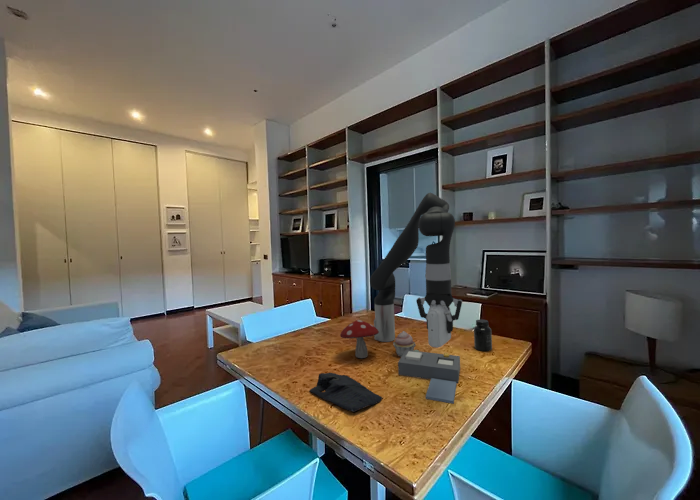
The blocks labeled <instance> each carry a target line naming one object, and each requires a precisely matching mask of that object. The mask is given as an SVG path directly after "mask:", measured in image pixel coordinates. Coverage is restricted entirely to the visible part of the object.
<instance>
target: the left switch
mask: <svg viewBox="0 0 700 500" xmlns="http://www.w3.org/2000/svg"><path fill="white" fill-rule="evenodd" d="M420 352H421V351H420ZM420 352H411V351H409V352H408V353H407V355H406V359H407V360H414V361H421V359H422V353H420Z"/></svg>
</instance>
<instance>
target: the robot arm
mask: <svg viewBox="0 0 700 500" xmlns="http://www.w3.org/2000/svg"><path fill="white" fill-rule="evenodd" d="M449 210H450V204H449V203H448V202H447V201H446V200H445V199H443V198H442V197H440V196H438V195H436V194H434V193H432V192H427V193H426V194H425V196H423V197H422V199H421V201H420V203H419V204H418V206H417V208H416V210H415V211H414V213H413V215H412V216H411V218H410V220H409V221H408V223H407V224H406V226H405V227H404V229H403V230H402V232H401V233H400V234H399V236H398V237H397V239H396V240H395V242H394V243H393V245H392V247H391V248H390V250H389V251H388V253H387V254H386V255H385V257H384V259H383V260H382V262H380V264H379V266H377V268H376V269H375V270H374V271H373V273H372V274H371V276H370V279H369V284H370V287H371V288H372V289H373V290H375V291H379V292H378V293H377V295H376V296H375V297H374V319H373V326H374V327H375V328H376V329H378V331H379V333H378V334H377V335H374V340H376V341H379V342H383V343H384V342H387V343H388V342H392V341H393V342H394V341H395V339H396V330H395V329H396V327H395V326H396V325H395V304H394V303H395V298H396V277H395V274H394V272H395V271H396V270H397V269H398V268H399V267H401V266H402V265H403V264H404V263H406V262H407V261H408V260H409V259H410V258H411V256H412V255H413V254H414V252H415V251H416V250H417V248H418V246H419V241H420V238H419V237H420V235H419V232H420V234H421V235H422V236H424V237H442V239H441V240H440V241H438V242H435V243H431V244H427V245H426V247H425V276H424V278H425V296H424V297H418V298H417V299H416V304H417V305H416V306H417V309H418V312H419V315H420V318H423V319H424V320H426V329H427V331H428V313H426V312H425V307H424V304H425V303H427V305H428V306H429V308H428V310H429V309H430V308H431V307H432V306H433V305H435V304H437V305H438V304H440V305H442V307H443V309H444V312H445V314H446V316H447V318H448V333H451V334H452V332H453V331H454V321H457V320H459V319H460V315H461V314H460V313H461V309H462V304H463V300H462V299H461V298H460V299H459V298H458V299H457V298H454V297H453V295H452V270H451V262H450V248H451V247H450V246H451V240H452V237H453V232H454V230H455V226H456V225H455V224H456V220H455V219H456V218H455V217H454V216H453V214H452V213H450V212H449ZM453 303H454V307H456V309H455V314H453V315H452V312H451V308H450V309H449V307H450V306H451V304H453Z"/></svg>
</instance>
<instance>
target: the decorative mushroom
mask: <svg viewBox="0 0 700 500" xmlns="http://www.w3.org/2000/svg"><path fill="white" fill-rule="evenodd" d="M378 333H379V331H378V329H376V328H375V327H374V324H373V325H372V324H371V323H369V322H366V321H364V320H361V319H357V320H354V321H352V322H351V323H349V324H347V325H346V326H345V327H344V328H343V329H342V330H341V331H340V333H339V336H340V338H341V339H356V344H355V357H356V358H357V359H365V358H367V357H368V355H369V354H368V352H369V351H368V346H367V344H366V342H365V338H369V337H373V336H374V335H377V334H378Z"/></svg>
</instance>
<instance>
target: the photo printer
mask: <svg viewBox="0 0 700 500" xmlns="http://www.w3.org/2000/svg"><path fill="white" fill-rule="evenodd" d="M429 308H430V307H429ZM429 308H428V310H427V314H428V330H427V334H428V335H427V338H428V339H427V340H428V345H429V346H430V347H432V348H435V349H436V348H441V347H443V346H444V345H446V343H448V342H449V341H450V340H451V339H452V332H451V333H448V318H447V316H446V314H445V312H444V309H443V307H442V305H440V304H438V305H437V304H435V305H433V306H432V307H431V308H430V309H429ZM449 309H450V310H451V307H450V306H449Z"/></svg>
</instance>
